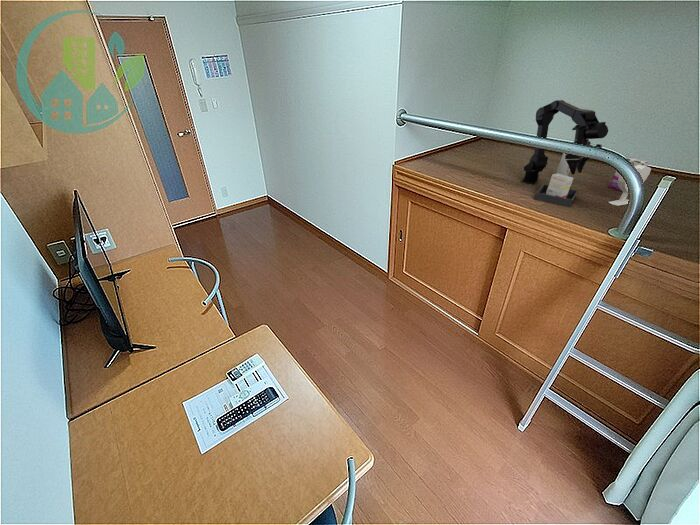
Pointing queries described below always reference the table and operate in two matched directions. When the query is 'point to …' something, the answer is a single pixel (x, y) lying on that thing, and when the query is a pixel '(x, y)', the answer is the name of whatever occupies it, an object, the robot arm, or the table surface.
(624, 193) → the heart sculpture
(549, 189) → the ink box
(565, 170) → the travel mug
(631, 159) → the candy bar box
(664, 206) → the table surface
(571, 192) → the dark grey tray frame
